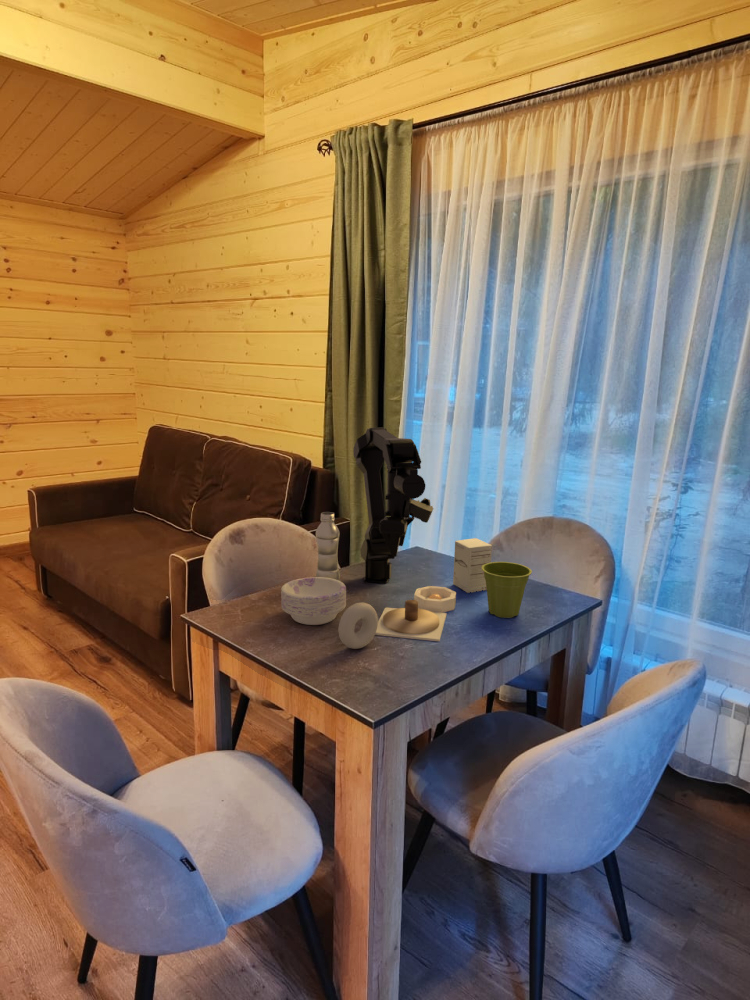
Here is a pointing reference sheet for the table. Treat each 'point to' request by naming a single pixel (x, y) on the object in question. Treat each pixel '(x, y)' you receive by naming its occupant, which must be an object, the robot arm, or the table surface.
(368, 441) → the robot arm
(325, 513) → the plastic bottle
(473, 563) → the supplement box
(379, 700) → the table surface
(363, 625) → the donut
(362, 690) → the table surface
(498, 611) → the plant pot
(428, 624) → the lid
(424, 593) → the dish
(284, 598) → the paper bowls
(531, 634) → the table surface
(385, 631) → the mat
